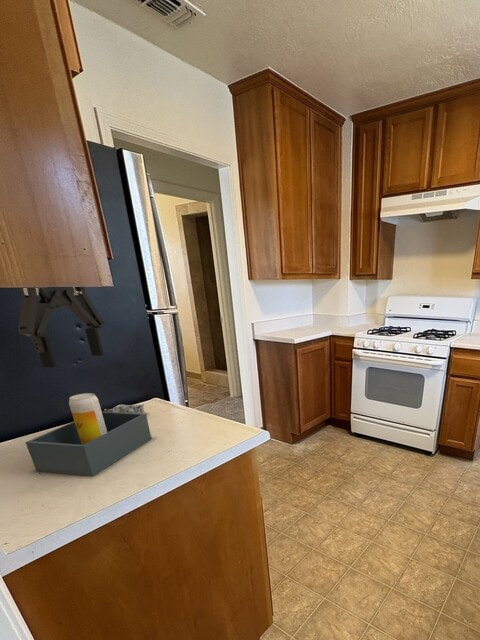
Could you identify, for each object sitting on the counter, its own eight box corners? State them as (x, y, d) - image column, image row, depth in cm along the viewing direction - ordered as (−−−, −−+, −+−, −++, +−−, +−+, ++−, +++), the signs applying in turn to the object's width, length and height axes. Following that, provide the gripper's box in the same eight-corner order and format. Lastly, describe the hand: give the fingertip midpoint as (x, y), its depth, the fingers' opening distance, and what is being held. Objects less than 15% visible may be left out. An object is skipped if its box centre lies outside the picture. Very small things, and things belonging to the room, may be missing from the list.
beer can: (90, 447, 94) (74, 393, 88) (115, 445, 95) (100, 392, 89) (80, 457, 89) (62, 400, 83) (106, 455, 90) (90, 399, 84)
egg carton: (104, 421, 115) (101, 409, 113) (118, 413, 122) (115, 402, 120) (136, 421, 114) (133, 409, 112) (148, 413, 121) (145, 402, 119)
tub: (36, 471, 84) (25, 442, 81) (104, 435, 103) (97, 411, 100) (93, 476, 81) (83, 446, 78) (151, 438, 101) (146, 413, 98)
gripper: (1, 255, 63) (41, 373, 71) (105, 263, 85) (126, 351, 93) (-33, 257, 64) (10, 372, 72) (79, 263, 86) (101, 351, 95)
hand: (75, 360), depth 83 cm, fingers open, 13 cm apart
